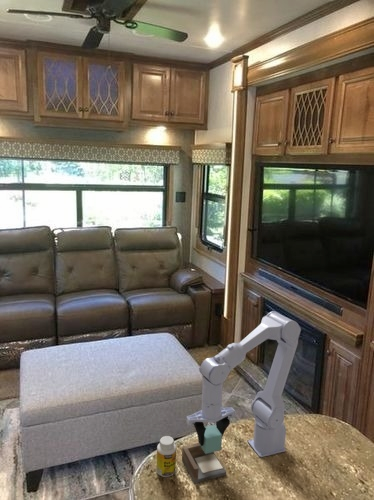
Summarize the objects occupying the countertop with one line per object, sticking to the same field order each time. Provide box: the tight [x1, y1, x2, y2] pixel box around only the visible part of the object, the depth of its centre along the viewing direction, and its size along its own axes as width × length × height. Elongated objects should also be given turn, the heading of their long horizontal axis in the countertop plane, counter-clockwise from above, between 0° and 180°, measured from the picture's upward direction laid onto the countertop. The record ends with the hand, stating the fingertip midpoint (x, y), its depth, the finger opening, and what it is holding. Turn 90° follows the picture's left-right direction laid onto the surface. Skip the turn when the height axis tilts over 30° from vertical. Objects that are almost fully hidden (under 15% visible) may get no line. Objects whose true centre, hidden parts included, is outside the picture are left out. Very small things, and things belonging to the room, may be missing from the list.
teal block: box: [198, 424, 223, 454], centre depth 122 cm, size 5×5×5 cm
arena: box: [181, 442, 227, 484], centre depth 123 cm, size 10×10×4 cm
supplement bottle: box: [156, 435, 177, 478], centre depth 120 cm, size 6×6×10 cm
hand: (209, 441), depth 122 cm, fingers closed on teal block, 5 cm apart
